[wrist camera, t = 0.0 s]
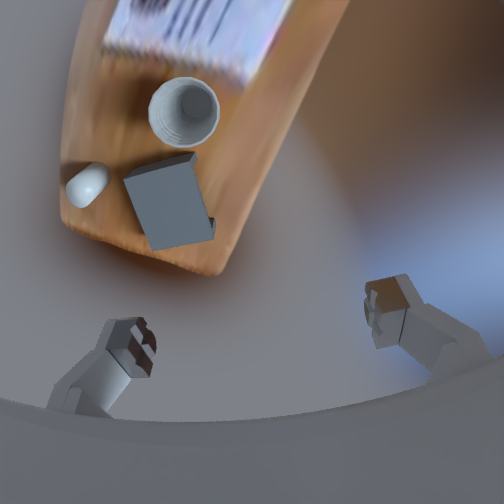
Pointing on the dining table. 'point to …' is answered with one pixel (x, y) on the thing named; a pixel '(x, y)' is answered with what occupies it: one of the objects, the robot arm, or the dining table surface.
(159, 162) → the shelf
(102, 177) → the white rounded domed part
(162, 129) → the plastic cup
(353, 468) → the robot arm
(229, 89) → the dining table surface
